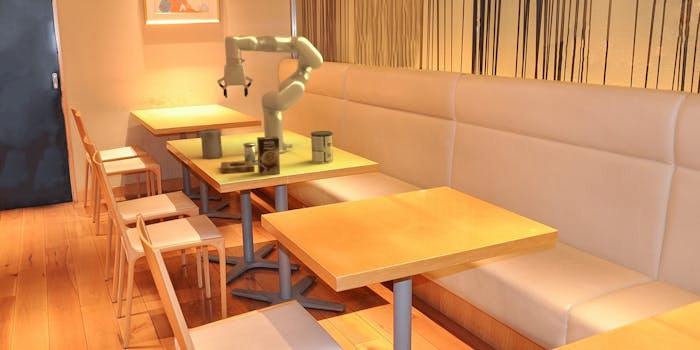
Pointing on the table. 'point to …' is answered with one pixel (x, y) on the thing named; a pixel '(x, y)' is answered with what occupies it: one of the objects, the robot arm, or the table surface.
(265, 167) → the coffee box
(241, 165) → the brown wooden square frame
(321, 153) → the coffee can
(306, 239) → the table surface
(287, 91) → the robot arm
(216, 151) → the pillar candle
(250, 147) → the end cap
